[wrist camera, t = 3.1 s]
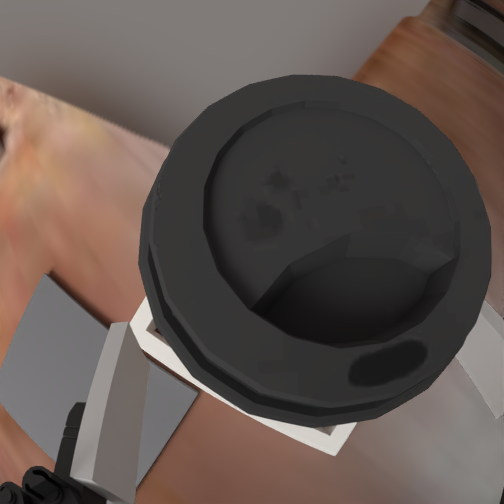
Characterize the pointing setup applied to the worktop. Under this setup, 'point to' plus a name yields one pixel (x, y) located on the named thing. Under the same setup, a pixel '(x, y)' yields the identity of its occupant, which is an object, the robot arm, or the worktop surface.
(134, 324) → the holder frame
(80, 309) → the rubber mat
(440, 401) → the worktop surface
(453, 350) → the coffee cup
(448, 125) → the worktop surface
